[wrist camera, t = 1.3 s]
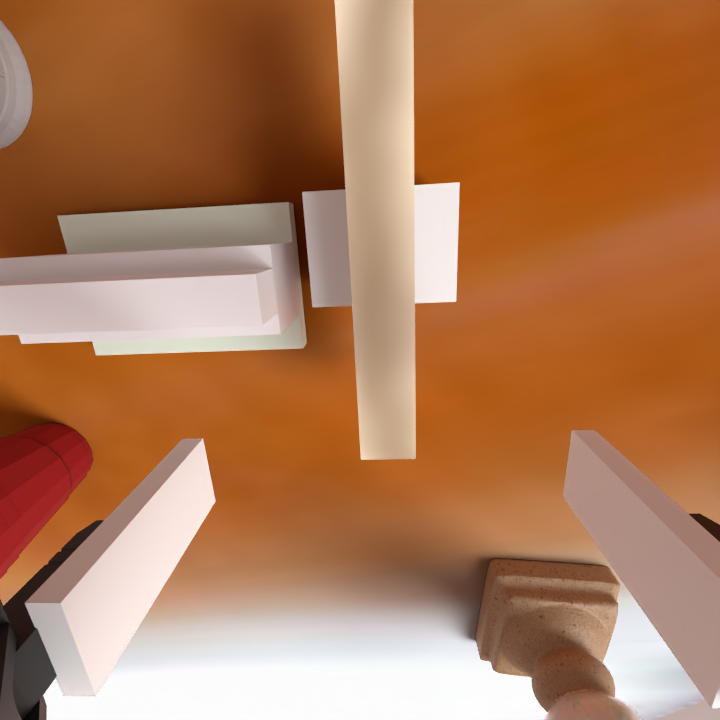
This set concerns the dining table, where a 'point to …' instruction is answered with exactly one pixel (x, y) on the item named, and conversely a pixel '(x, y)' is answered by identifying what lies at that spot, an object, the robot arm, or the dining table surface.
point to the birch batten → (380, 215)
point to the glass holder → (13, 89)
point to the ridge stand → (163, 282)
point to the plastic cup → (36, 482)
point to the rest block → (432, 244)
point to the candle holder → (553, 634)
